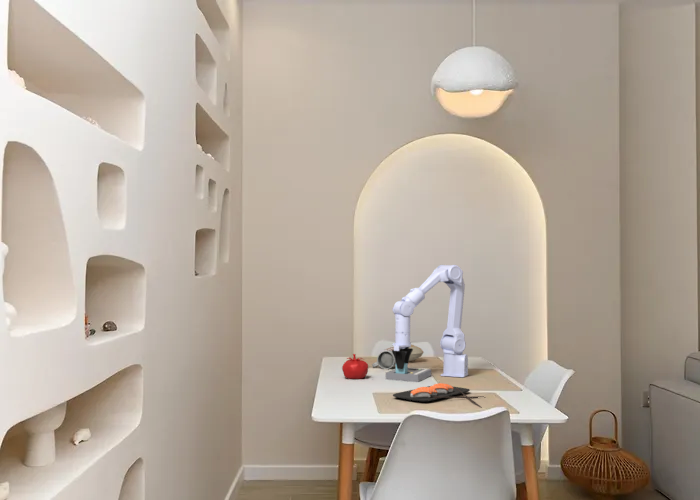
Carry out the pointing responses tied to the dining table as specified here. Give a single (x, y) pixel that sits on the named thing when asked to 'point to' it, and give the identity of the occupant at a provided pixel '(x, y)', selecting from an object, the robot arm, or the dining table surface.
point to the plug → (404, 370)
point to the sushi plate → (434, 393)
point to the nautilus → (413, 352)
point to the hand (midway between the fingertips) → (402, 368)
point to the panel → (409, 375)
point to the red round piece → (355, 368)
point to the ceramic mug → (385, 360)
